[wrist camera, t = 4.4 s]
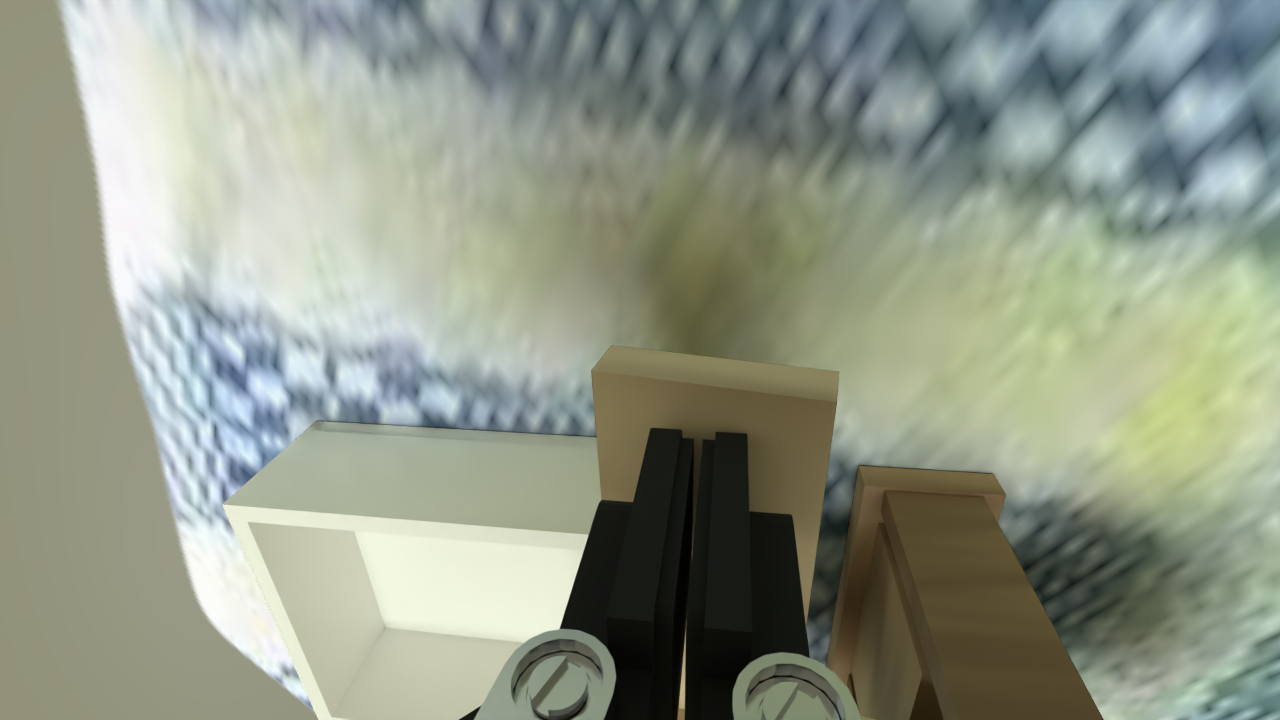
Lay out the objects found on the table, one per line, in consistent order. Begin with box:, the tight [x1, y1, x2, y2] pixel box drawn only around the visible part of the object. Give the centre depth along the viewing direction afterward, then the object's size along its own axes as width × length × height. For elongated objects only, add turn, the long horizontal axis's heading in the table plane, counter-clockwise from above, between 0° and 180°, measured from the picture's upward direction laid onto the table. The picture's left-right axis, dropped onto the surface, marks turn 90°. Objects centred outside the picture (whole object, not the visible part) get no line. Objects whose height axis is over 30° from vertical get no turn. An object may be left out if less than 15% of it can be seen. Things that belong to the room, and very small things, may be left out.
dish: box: [222, 421, 601, 720], centre depth 21 cm, size 11×12×4 cm
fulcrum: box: [826, 466, 1104, 720], centre depth 17 cm, size 10×4×9 cm, turn 2°
